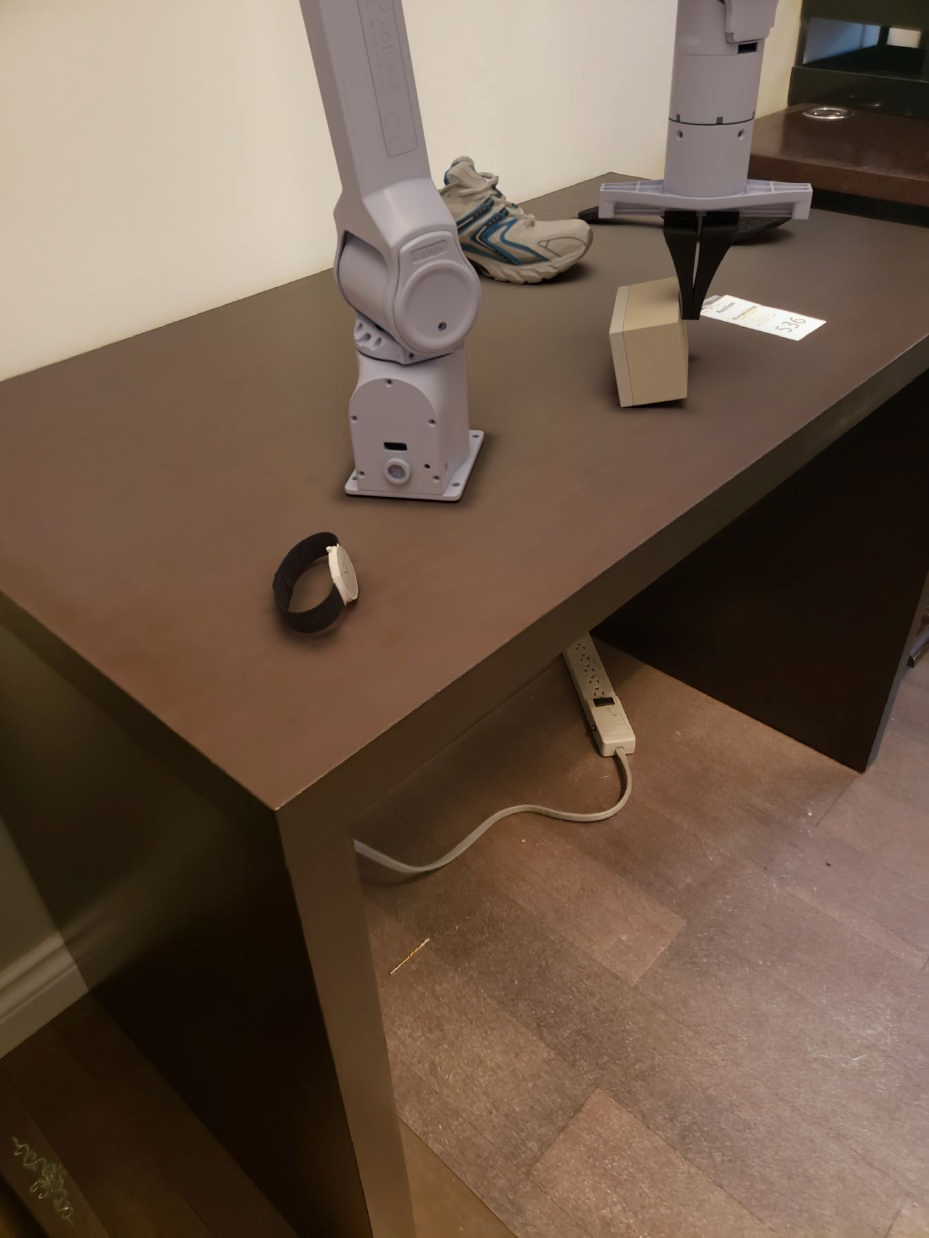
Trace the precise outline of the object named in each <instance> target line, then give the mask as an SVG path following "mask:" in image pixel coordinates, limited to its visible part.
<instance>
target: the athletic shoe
mask: <svg viewBox="0 0 929 1238" xmlns="http://www.w3.org/2000/svg"><path fill="white" fill-rule="evenodd" d="M499 181H500V177H499V176H498V175H495V174H493V172H484V171H480V172H478V171H477V170H476V169H475V161H474V160H473V159H472V158H471V157H469V156H468V155H466V156H465V155H460V156H458V157H457V158H455V159H454V160H452V162H451V164H450V167H449V168H448V169H447V170H446V171H445V172H444V176H443V183H444V186H443V187H442V188H440V189H439V188H438V189H437V190H438V192H439V194H440V195H441V197H442V199H443V201H444V202H445V204H446V206H447V207H448V209H449V211H450V213H451V215H452V217H453V218H454V220H455V223H456V225H457V231H458V237H459V242H460V246H461V249H462V251H463V253H464V255H465V257H466V258H467V260H468V261H469V262H470V264H471V265H472V266H475V267H477V268H478V269H479V271H480V272H481V273H482V274H483V275H484V276H486V277H489V278H492V277H493V278H494V280H496V281H501V282H510V283H512V284H521V285H523V284H525V283H526V282H527V283H528V284H533V283H534V284H536V283H540V282H542V281H543V280H544V279H546V280H550V279H553V277H556V276H558V275H559V274H560V273H564V272H566V271H568V270H569V269H570V268H571V267H572V266H574V265H575V264H577V263H578V262H579V261H580V260H581V259H582V258H583V257H584V256H585V255H586V254H587V253H588V251H589V250H590V248H591V246H592V245H593V242H594V238H595V237H594V229H593V228H592V226H590V225H589V224H588V223H587V222H586V220H579V219H578V218H573V219H558V220H548V221H547V220H537V219H536V217H535V215H534V214H532V213H528V214H526V213H525V211H524V209H523V208H521V207H520V206H519V205H518V204H515V203H514V202H510V201H508V200H506V199H507V197H506V195H504V194H503V193H502V191H501V190H499V188H497V185H498V184H499Z"/></svg>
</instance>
